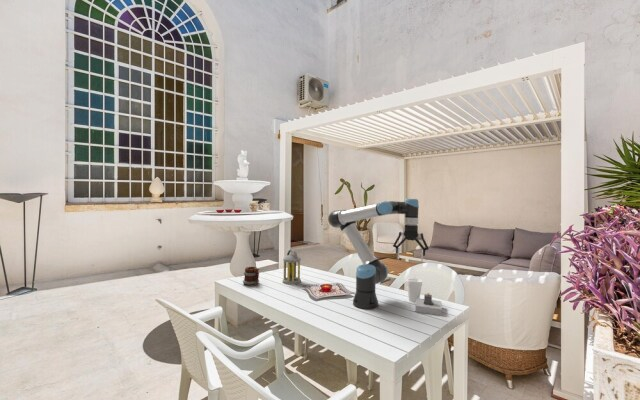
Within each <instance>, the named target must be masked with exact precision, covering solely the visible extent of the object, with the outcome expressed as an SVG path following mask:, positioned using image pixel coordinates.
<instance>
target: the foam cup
mask: <svg viewBox="0 0 640 400" xmlns="http://www.w3.org/2000/svg"><path fill="white" fill-rule="evenodd" d="M422 286H423V280H422V279H420V278H415V277H413V278H412V277H408V278H406V287H407V288H406V289H407V296H408V301H410V302H412V303H416V300H417V298H420V299H421V292H422Z"/></svg>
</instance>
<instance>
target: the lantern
mask: <svg viewBox="0 0 640 400" xmlns="http://www.w3.org/2000/svg"><path fill="white" fill-rule="evenodd" d="M291 251H292V252H293V254H290V253H291ZM282 262H283V279H282V280H281V281H282V283H283V284H284V285H298V284H299V285H300V284H301V282H302V280H301V277H300V276H301V257H300V256H299V255H297V251H296V250H295V249H293V248H291V249H289V250H288V251H287V253H286V255H285V256H284V257H283V261H282Z"/></svg>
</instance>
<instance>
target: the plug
mask: <svg viewBox="0 0 640 400" xmlns="http://www.w3.org/2000/svg"><path fill="white" fill-rule="evenodd" d="M423 297H424V298H423V299H424V304H425V305H432V300H433V296H432V294H430V293H429V292H426V293H425V294H424V296H423Z"/></svg>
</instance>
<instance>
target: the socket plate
mask: <svg viewBox="0 0 640 400" xmlns="http://www.w3.org/2000/svg"><path fill="white" fill-rule="evenodd" d="M414 307H415V313H423V314H428V315H436V316H442V312H443V305H442V300H434V299H432V305H425V304H424V298H421V297H420V298H417V300H416V302H415V306H414Z"/></svg>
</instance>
